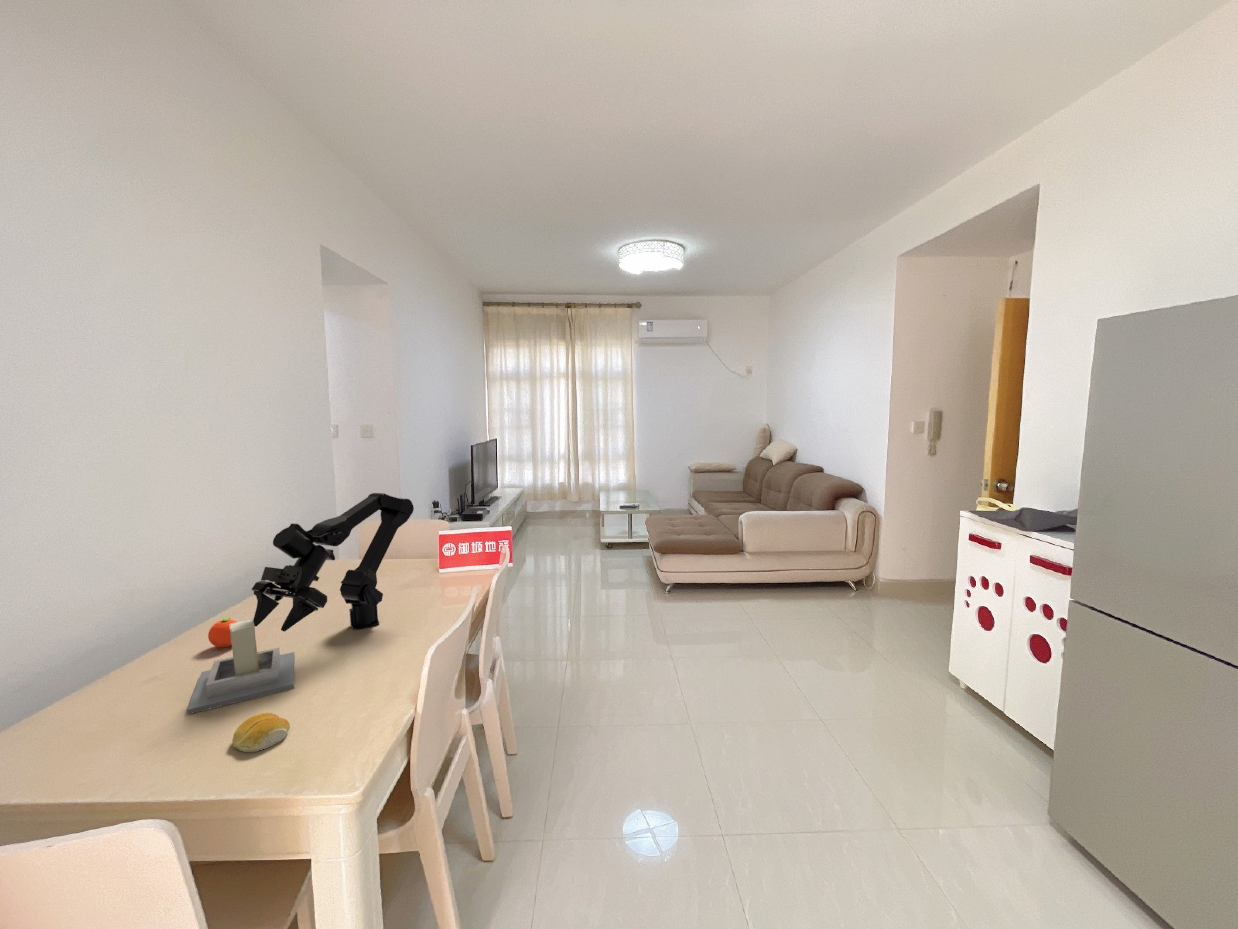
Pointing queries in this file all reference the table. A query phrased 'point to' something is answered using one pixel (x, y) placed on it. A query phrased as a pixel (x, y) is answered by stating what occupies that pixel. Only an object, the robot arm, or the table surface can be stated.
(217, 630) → the clementine
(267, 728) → the bread roll
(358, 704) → the table surface
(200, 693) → the port base
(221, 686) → the port collar
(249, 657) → the skincare box
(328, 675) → the table surface
